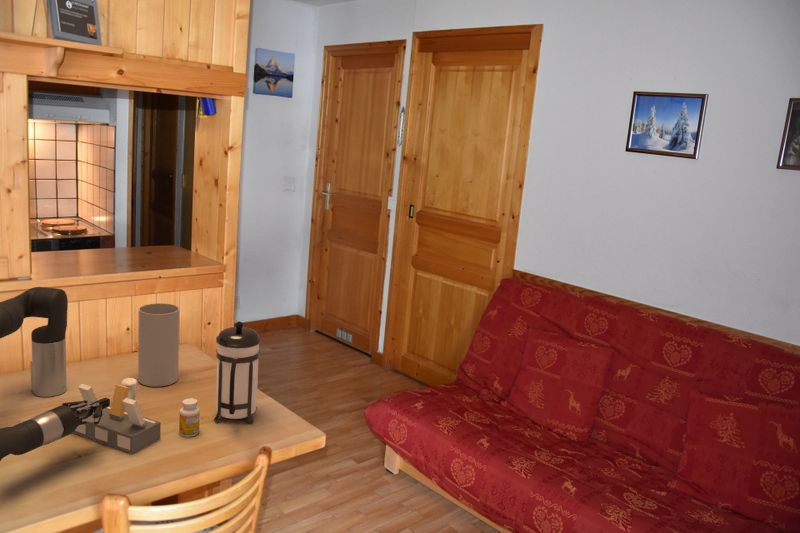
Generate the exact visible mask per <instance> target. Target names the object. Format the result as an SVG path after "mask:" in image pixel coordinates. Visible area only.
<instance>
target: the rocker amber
mask: <svg viewBox="0 0 800 533" xmlns="http://www.w3.org/2000/svg"><path fill="white" fill-rule="evenodd" d="M114 388H115V389H114V391H113V396H112V400H111V404H110V406H111V410H110V413H109V416H110V417H113V418H116V419H119V420H123V419H124V417H123V416H124V411H126V409H125V407H124V404H123V402H122V401H123V400H124V399H125V398H127V397H128V392H129V387H126V386H123V385H121V384H115V387H114Z"/></svg>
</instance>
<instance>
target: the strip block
mask: <svg viewBox="0 0 800 533" xmlns="http://www.w3.org/2000/svg"><path fill="white" fill-rule="evenodd" d="M110 410H111V405H110V406H109V407H107V408H105V409H102V417H101V419H100V422H99V424H94V422H87V423H86V424H83V425H79V426H78V427H77V428H76V430H75V431H74V432H73V433H72V434H74V435H78V436H80V437H84V438H86V439H89V440H92V441H95V442H98V443H100V444H103V445H106V446H108V447H112V448H114V449H117V450H120V451H123V452H126V453H128V454H131V455H135V454H136V453H138V452H139V451H141V450H144V449H145V448H147V447H148V446H150V445H152V444H154V443H155V442H158V441H159V440H161V426H162V424H161V422H160V421H158V420H155V419H151V418H149V417H145V416H143V419H144V422H145V423H144V424H146V427H145V428H143V427H140V426H137V425H134V424H131V421H130V419H129V417H128V414H127V412H126V410H125V411H124V416H123V417H124V419H123V420H119V419H116V418H113V417H110V416H109V413H110Z"/></svg>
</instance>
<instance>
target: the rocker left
mask: <svg viewBox="0 0 800 533" xmlns="http://www.w3.org/2000/svg"><path fill="white" fill-rule="evenodd" d="M77 388H78V390H79V393H80V394H81V396H82V399H83V401H88V402H91V401H94V402H95V401H98V400H99V399H98V398H97V396H96V393H95V392H94V389H93V387H92V386H90V385H87V384H84V383H81V384H80V385H79V386H78V387H77Z"/></svg>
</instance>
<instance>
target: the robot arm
mask: <svg viewBox="0 0 800 533" xmlns="http://www.w3.org/2000/svg"><path fill="white" fill-rule="evenodd" d="M68 302H69V299H68V296H67V293H66V291H65V290H64V289H62V288H58V287H57V288H55V287H44V286H35V287H31V288H29V289H27V290H24V292H22V293H20V294H18V295H16V296H14V297H11V298H8V299H6V300H3V301H0V339H3V338H6V337H8V336H10V335H12V334H14V333H16V332H17V331H18V330H20V328H21V327H22V326H23V323H24V319H27V318H40V319H47V324H46V325H42V326H41V325H40V326H38V327H36V328H34V329H33V330H32V331H31V334H30V336H31V337H30V338H31V339H30V340H31V361H30V364H29V366H30V367H29V368H30V369H29V370H30V389H31V392H33V394H34V395H35V396H38V397H41V398H49V397H56V396H60V395H61V394H64V393H66V391H67V388H68V387H67V384H68V383H67V380H68V379H67V344H66V343H67V342H66V340H67V339H66V338H67V337H66V336H67V334H66V332H67V327H68V306H69V305H68ZM97 400H98V401H95V402H94V401H91V402H88V401H84V400H79V401H70V402H68V401H67V402H63V403H61V405H59V406H56V407H54V408H53V407H52V409H49V410H47V411H44V412H41V413H39V414H36V415H35V416H32V417H31V418H29V419H26V420H25V421H22V422H20V423H18V424H14V425H13V426H5V427H0V462H1V461H2V459H4V458H5V457H8V456H9V455H13V456H22V455H24V454H27V453H29V452H31V451H34V450H36V449H38V448H40V447H44V446H47V445H49V444H51V443H54V442H56V441H58V440H60V439H63V438H65V437H67V436H69V435H71V434H74V433H73V432H74V431H75V430H76V428H77V427H78V426H79V425H83V424H86V423H87V422H94V424H99V422H100V419H101V417H102V409H105V408H107V407H109V406H111V399H110V398H108V397H103V398H101V399H97Z"/></svg>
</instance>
